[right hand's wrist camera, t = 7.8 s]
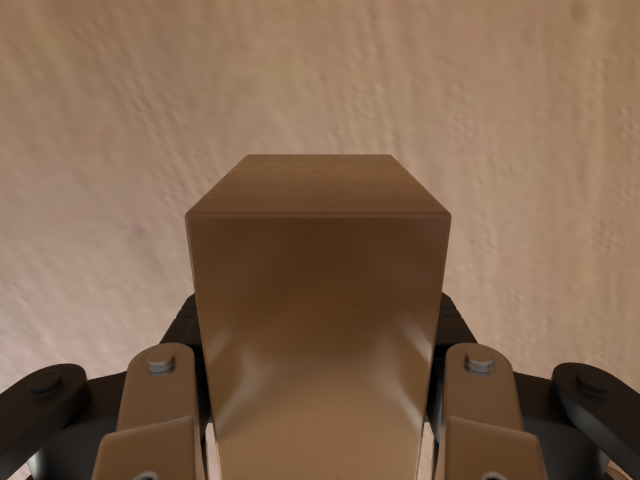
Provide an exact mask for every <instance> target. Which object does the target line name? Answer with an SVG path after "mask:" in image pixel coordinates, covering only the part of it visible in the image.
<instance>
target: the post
mask: <svg viewBox="0 0 640 480" xmlns="http://www.w3.org/2000/svg"><path fill="white" fill-rule="evenodd" d="M451 218H452V217H451V214H450V212H449V211H448V210H446V209H445V208H444V207H443V206H442V205H441V204H440V203H439V202H438V201H437V200H436V199H435V198H434V197H433V196H432V195H431V194H430V193H429V192H428V191H427V190H426V189H425V188H424V187H423V186H422V185H421V184H420V183H419V182H418V181H417V180H416V179H415V178H414V177H413V176H412V175H411V174H410V173H409V172H408V171H407V170H406V169H405V168H404V167H403V166H402V165H401V164H400V163H399V162H398V161H397V160H396V159H395V158H394V157H393V156H392V155H246V156H245V157H244V158H243V159H242V160H241V161H240V162H239V163H238V164H237V165H236V166H235V167H234V168H233V169H232V170H231V171H230V172H229V173H228V174H227V175H226V176H224V177H223V178H222V179H221V180H220V181H219V182H218V183H217V184H216V185H215V186H214V187H213V188H212V189H211V190H210V191H209V192H208V193H207V194H206V195H205V196H203V197H202V198H201V199H200V200H199V201H198V202H197V203H196V204H195V205H194V206H193V207H192V208H191V209H190V210H189V211H188V212H187V213H186V214H185V224H186V231H187V238H188V246H189V253H190V260H191V268H192V275H193V282H194V290H195V297H196V304H197V312H198V319H199V326H200V334H201V341H202V348H203V355H204V363H205V370H206V377H207V385H208V392H209V399H210V407H211V414H212V421H213V429H214V436H215V443H216V451H217V458H218V465H219V473H220V480H417V475H418V467H419V459H420V452H421V444H422V437H423V429H424V422H425V414H426V407H427V399H428V392H429V384H430V376H431V369H432V361H433V354H434V346H435V339H436V331H437V324H438V316H439V308H440V301H441V293H442V286H443V278H444V271H445V263H446V256H447V248H448V241H449V233H450V225H451Z"/></svg>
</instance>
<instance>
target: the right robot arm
mask: <svg viewBox="0 0 640 480" xmlns="http://www.w3.org/2000/svg"><path fill="white" fill-rule="evenodd" d="M425 422H429V423H430V426H431V429H432V432H433V435H434V440H433V449H432V464H431V479H430V480H614V479H613V478H612V477H611V476H610V475H609V474H608V473H607V472H606V468H607V466H608V463H609V461H610V459H611V460H612V461H613V462H614V463H616V464H617V465H618V466H619V467H620V468H621V469H622V470H623V471H624V472H625V473H626V474H628V475H629V476H630V477H631V478H632V479H633V480H640V394H639V393H637V392H636V391H635V390H633V389H632V388H630V387H629V386H628V385H626V384H625V383H623V382H622V381H620V380H619V379H618V378H616V377H614V376H613V375H611V374H609V373H608V372H606V371H604V370H601V369H599V368H596V367H593V366H590V365H587V364H582V363H574V362H571V363H562V364H559V365H558V366H556V367H555V368H554V370H553V373H552V377H551V380H549V379H544V378H540V377H535V376H530V375H526V374H521V373H517V372H514V371H513V369H512V366H511V364H510V362H509V361H508V359H507V358H506V357H505V356H503V355H502V354H501V353H499V352H498V351H496V350H494V349H492V348H490V347H488V346H485V345H481V344H478V342H477V341H476V339H475V338H474V336H473V334H472V333H471V331H470V329H469V328H468V326H467V325H466V323H465V321H464V320H463V318H461V315H460V313H459V311H458V310H456V307H455V305H454V303H453V302H452V300H451V298H450V297H449V296H447V295H446V294H444V293H443V292H442V293H441V301H440V308H439V316H438V324H437V331H436V339H435V346H434V354H433V361H432V369H431V376H430V384H429V392H428V399H427V407H426V414H425ZM208 423H213V421H212V414H211V407H210V399H209V392H208V385H207V377H206V370H205V363H204V355H203V348H202V341H201V334H200V326H199V319H198V312H197V304H196V297H195V293H194V294H192V295H191V296H190V297H188V298H187V300H186V302H185V303H184V305H183V306H182V309H181V310H180V311H179V313H178V314H177V316H176V319H174V321H173V322H172V324H171V326H170V327H169V329H168V330H167V332H166V334H165V335H164V337H163V338H162V340H161V342H160V343H159V345H155V346H152V347H150V348H148V349H146V350H144V351H142V352H141V353H139V354H138V355H137V356H135V357H134V358H133V359H132V361H131V362H130V364H129V366H128V369H127V371H124V372H121V373H118V374H114V375H109V376H105V377H100V378H95V379H91V380H87V376H86V373H85V370H84V369H83V368H82V367H81V366H79V365H76V364H57V365H52V366H49V367H45V368H43V369H40V370H37V371H35V372H33V373H31V374H29V375H27V376H26V377H24V378H23V379H21V380H20V381H18V382H17V383H15V384H14V385H12V386H11V387H10V388H8V389H7V390H5V391H4V392H3V393H1V394H0V480H7V479H8V478H9V477H10V476H11V475H12V474H14V473H15V472H16V471H17V470H18V469H19V468H20V467H21V466H22V465H23V464H24V463H26V462H27V464H28V466H29V469H30V472H31V475H30V476H29V477H28V478H27V479H26V480H210V479H209V464H208V449H207V440H206V433H205V430H206V427H207V424H208Z"/></svg>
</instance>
